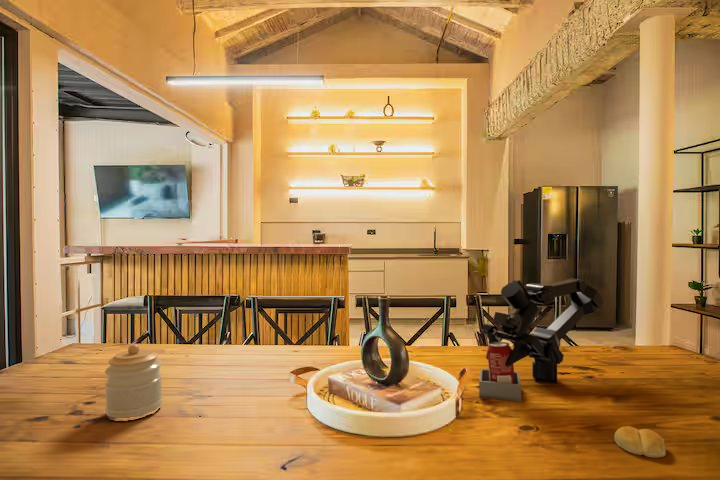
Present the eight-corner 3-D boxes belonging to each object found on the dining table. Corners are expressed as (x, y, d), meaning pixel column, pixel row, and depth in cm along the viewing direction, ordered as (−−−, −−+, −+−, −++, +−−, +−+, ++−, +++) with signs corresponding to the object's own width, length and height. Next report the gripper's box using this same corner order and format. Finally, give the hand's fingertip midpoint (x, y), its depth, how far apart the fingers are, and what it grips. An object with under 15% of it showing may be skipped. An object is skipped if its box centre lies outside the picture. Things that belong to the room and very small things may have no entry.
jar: (173, 405, 111) (172, 340, 111) (132, 426, 99) (131, 353, 99) (136, 399, 115) (135, 336, 115) (93, 419, 103) (91, 349, 103)
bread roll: (614, 434, 93) (614, 417, 92) (663, 445, 88) (663, 426, 88) (613, 451, 86) (613, 432, 86) (667, 463, 81) (667, 443, 81)
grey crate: (518, 387, 121) (518, 372, 120) (521, 402, 110) (521, 385, 110) (480, 383, 124) (480, 368, 124) (479, 397, 114) (479, 381, 114)
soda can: (515, 390, 112) (511, 346, 113) (489, 389, 114) (486, 345, 115) (515, 383, 118) (511, 341, 119) (490, 382, 121) (487, 341, 122)
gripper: (484, 297, 127) (458, 338, 122) (536, 306, 110) (508, 354, 105) (503, 319, 131) (478, 359, 126) (555, 331, 114) (529, 378, 109)
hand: (496, 362), depth 116 cm, fingers closed on soda can, 6 cm apart
